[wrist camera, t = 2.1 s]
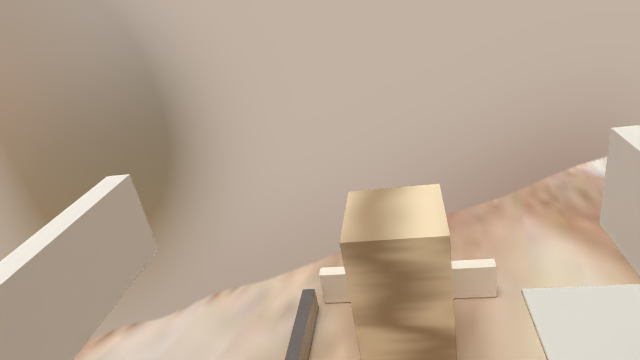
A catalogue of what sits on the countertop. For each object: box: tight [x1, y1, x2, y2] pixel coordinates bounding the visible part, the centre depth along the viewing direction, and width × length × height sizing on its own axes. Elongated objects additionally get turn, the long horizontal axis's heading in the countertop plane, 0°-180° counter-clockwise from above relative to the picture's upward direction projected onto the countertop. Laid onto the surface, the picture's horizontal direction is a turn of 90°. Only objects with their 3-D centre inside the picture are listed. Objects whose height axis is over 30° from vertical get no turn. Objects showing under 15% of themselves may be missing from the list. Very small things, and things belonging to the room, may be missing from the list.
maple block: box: [340, 184, 457, 360], centre depth 30 cm, size 6×6×12 cm
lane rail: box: [319, 259, 497, 303], centre depth 37 cm, size 14×1×3 cm, turn 82°
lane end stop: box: [285, 289, 319, 360], centre depth 34 cm, size 1×10×2 cm, turn 173°
